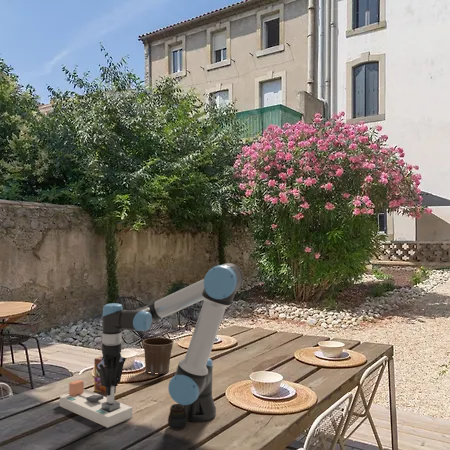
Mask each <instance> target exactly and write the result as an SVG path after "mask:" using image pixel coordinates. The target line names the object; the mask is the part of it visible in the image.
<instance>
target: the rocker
mask: <svg viewBox="0 0 450 450" xmlns="http://www.w3.org/2000/svg"><path fill="white" fill-rule="evenodd" d="M103 396H104V395H102V396H101V394H99V395H92V396H89V397H86V401H91V402H96V401H99V400H101V399H104V398H103Z"/></svg>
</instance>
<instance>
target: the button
mask: <svg viewBox="0 0 450 450" xmlns="http://www.w3.org/2000/svg"><path fill="white" fill-rule="evenodd" d="M120 403H121V402H120ZM120 403H119V401H117V400H115V401H114V403H112V404H110V403H108V402H104V403H102V410H104V411H107V412H109V413H110V412H112V411H115V410H117V409H120Z"/></svg>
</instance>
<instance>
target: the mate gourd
mask: <svg viewBox="0 0 450 450" xmlns="http://www.w3.org/2000/svg"><path fill="white" fill-rule="evenodd" d="M187 422H188V421H187V416H186V412H185V406H184V405H181V404H178V403H173V404H172V405H171V406H170V407H169V414H168V418H167V424H168V427H170V428H171V429H172V430H176V431H178V430H182V429H184V428H185V427H186V425H187Z"/></svg>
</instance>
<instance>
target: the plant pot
mask: <svg viewBox="0 0 450 450" xmlns="http://www.w3.org/2000/svg"><path fill="white" fill-rule="evenodd" d="M174 342H175V341H174V340H173V339H171V338H168V337H161V336H160V337H149V338H145V339H143V340H142V343H143V350H144V351H143V352H144V364H145V366H144V368H145V372H146V371H147V372H146V374H148V375H152V376H161V375H166V374H168V373H169V371H170V363H171V355H172V354H171V353H172V350H173V346H174ZM148 372H151V373H148ZM155 373H158V374H155Z"/></svg>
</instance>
